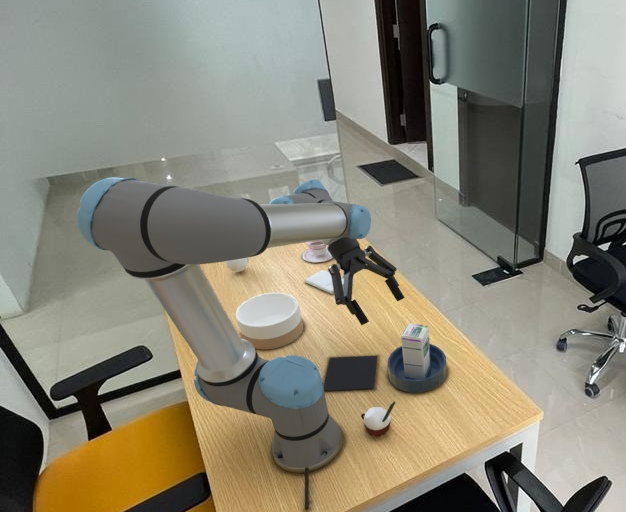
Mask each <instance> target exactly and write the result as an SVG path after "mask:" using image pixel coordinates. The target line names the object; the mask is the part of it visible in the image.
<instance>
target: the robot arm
mask: <svg viewBox="0 0 626 512" xmlns="http://www.w3.org/2000/svg"><path fill="white" fill-rule="evenodd" d="M76 221H77V222H76V223H77V226H78V227H77V228H78V229H79V231H80V234H81V236H82V237H83V238H84V240H86V241H87V243H89V244H91V245H92V246H93V247H96V248H97V249H99V250H101V251H109V252H111V254H113V255H114V257H115V258H116V260H117V261H118V263H119V264H120V265H121V267H122V268H123V269H124V271H125V273H127V275H128V276H130V277H131V278H134V279H137V280H144V282H145V283H146V285H147V286H148V287H149V289H150V290H151V292H152V294H153V295H154V297H156V299H157V300H158V302H159V304H160V305H161V307H162V309H163V310H164V311H165V313H166V314H167V316H168V317H169V319H170V320H171V322H172V323H173V324H174V326H175V327H176V330H178V332H179V334H180V335H181V336H182V338H183V340H184V341H185V342H186V344H187V345H188V346H189V348H190V350H191V351H192V353H193V354H194V356H195V357H196V358H197V360H196V366H195V368H194V373H193V375H194V377H195V378H194V379H193V384H194V388H195V391H196V393H197V394H198V395H199V396H200V397H201V399H203V400H205V401H208V402H210V403H211V404H212V405H213V404H214V405H215V406H220V407H221V406H222V407H225V408H230V409H234V410H238V411H241V412H246V413H249V414H252V415H253V414H254V415H257V416H261V417H264V418H268V419H270V420H271V422H272V423H271V424H272V426H273V429H274V430H273V436H272V443H271V453H272V456H273V460H274V462H275V463H276V465H277V466H278V467H280V468H281V469H282V470H284V471H285V472H289V473H295V474H304V510H309V509H310V506H309V505H310V493H309V492H310V486H309V485H310V484H309V483H310V482H309V481H310V480H309V478H310V477H309V476H310V475H309V474H310V472H313V471H317V470H319V469H322V468H323V467H325V466H327V465H328V464H329V463H331V462H332V461H333V460H334V459H335V458H336V457H337V455H339V453H340V450H341V448H342V445H343V435H342V431H341V428H340V426H339V424H338V423H337V422H336V420H335V419H334V418H333V416H332V415H331V414H330V413H329V408H328V404H327V399H326V398H327V397H326V393H325V391H324V381H323V378H322V375H321V373H320V370H319V368H318V366H317V365H316V364H315V363H314V362H313V361H312V360H310V359H309V358H307V357H304V356H301V355H296V354H286V355H285V357H283V356H281V355H280V356H276V357H274V358H272V359H270V360H269V359H265V358H262V357H261V356H260V355H259V353H258V351H257V349H256V348H254V346H253V345H252V343H251V342H249V341H248V340H245V339H243V338H242V337H240V335H239V333H238V331H237V329H236V327H235V325H234V324H233V323H232V320H231V318H230V317H229V315H228V314H227V313H228V312H227V311H226V310H225V308H224V306H223V304H222V302H221V300H220V299H219V297H218V295H217V293H216V292H215V290H214V287H213V286H212V285H211V282H210V281H209V279H208V278H207V276H206V274H205V272H204V270H203V268H202V266H201V265H209V264H217V263H225V261H230V260H236V259H242V258H248V259H249V258H252V257H257V256H259V255H262V254H263V253H264V252H265V251H266V250H267V249H270V248H277V247H284V246H285V247H286V246H290V245H296V244H298V245H299V244H303V243H306V242H311V241H318V240H322V242H323V243H324V245H327V246H326V247H327V248H328V251H329V253H330V254H331V256H332V257H333V258H332V259H333V260H335V262H336V263H333V264H331V265H330V266H328V268H327V272H329V273H330V275H331V277H332V283H333V289H334V294H333V296H334V301H335V305H336V306H340V305H342V306H345V307H346V308H347V310H348V311H349V312H350V314H351V315H352V316H355V318H356V319H357V320H358V322H359V324H360V326H363V325H366V324H368V323H369V322H370V320H369V319H368V317H367V315H366V314H365V312H364V311H363V309H362V307H361V306H360V304H359V303H358V301H357V300H356V299H355V298H354V299H353V286H354V285H353V283H354V282H353V281H354V276H355V274H357V273H358V272H361V271H363V270H367V271H369V272H372V273H374V274H376V275H378V276H380V277H382V278H385V280H384V282H385V284H386V286H387V287H388V289H389V291H390V292H391V294H392V295H393V297H394V299H395V300H396V302H400V301H401V300H403V299H405V296H404V294H403V292H402V290H401V288H399V287H400V284H399V282H398V280H397V279H396V278H395V275H396V271H397V269H398V268H397V267H396V266H395V265H393V264H392V263H391V262H389V261H388V259H386V258H384V257H383V256H382V255H381V254H379V253H378V252H376V250H375V249H374V248H373V246H372V245H368V246H366V247H364V248H363V249H362V248H361V245H360V242H359V241H358V240H362V239H365V238H366V237H367V236H368V234H369V233H370V230H371V224H372V216H371V212H370V210H369V209H368V208H367V207H366V206H364V205H361V204H360V205H359V204H356V203H348V202H341V201H335V200H333V199H332V197H331V195H330V193H329V191H328V190H327V189H326V188H325V186H324V184H323V183H322V182H321V181H320V180H318V179H316V178H314V179H310V180H307V181H305V182H303V183H301V184H300V185H298V186H297V187H296V188H294V189H293V191H292V194H289V195H281V196H279V197H275V198H274V199H272V200H271V201H270V202H269V203H263V204H262V203H261V204H260V203H259V202H257V201H256V200H253V199H251V198H245V197H244V198H243V197H240V198H237V197H231V196H226V195H219V194H216V193H213V192H212V193H211V192H207V191H203V190H199V189H194V188H191V187H190V188H189V187H184V186H177V185H172V184H171V185H170V184H163V183H157V182H149V181H143V180H140V179H138V178H136V177H116V176H115V177H107V178H103V179H100V180H98V181H96V182H94V183H93V184H91V186H89V187H88V188H87V189H86V190H85V192H84V193H83V195H82V196H81V198H80V200H79V208H78V209H77V211H76ZM341 270H342V274H343V275H342V274H341ZM341 278H343V279H344V286H342V280H341Z"/></svg>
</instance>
